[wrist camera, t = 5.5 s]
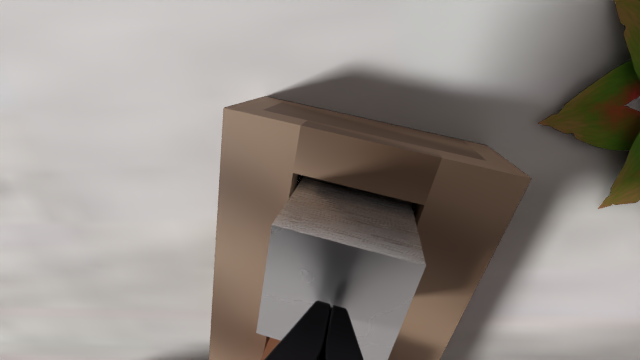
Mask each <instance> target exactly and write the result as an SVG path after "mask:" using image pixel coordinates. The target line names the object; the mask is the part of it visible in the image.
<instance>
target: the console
mask: <svg viewBox="0 0 640 360" xmlns="http://www.w3.org/2000/svg"><path fill="white" fill-rule="evenodd" d="M298 174H300V175H304V176H308V177H312V178H316V179H320V180H324V181H328V182H332V183H336V184H340V185H344V186H348V187H352V188H356V189H360V190H364V191H368V192H373V193H377V194H381V195H385V196H389V197H393V198H397V199H401V200H405V201H409V202H413V203H417V205H416V208H415V211H414V217H415V222H416V226H417V230H418V234H419V238H420V243H421V247H422V251H423V255H424V260H425V264H426V267H425V269H424V272H423V274H422V277H421V279H420V282H419V284H418V287H417V289H416V292H415V294H414V297H413V299H412V301H411V304H410V306H409V309H408V311H407V314H406V316H405V319H404V321H403V324H402V326H401V328H400V331H399V333H398V336H397V338H396V341H395V343H394V346H393V348H392V351H391V353H390V355H389V358H388V360H440V358H441V356H442V354H443V352H444V350H445V348H446V346H447V344H448V342H449V340H450V338H451V336H452V334H453V332H454V330H455V328H456V327H457V325H458V323H459V321H460V319H461V317H462V315H463V313H464V311H465V309H466V307H467V305H468V303H469V301H470V299H471V297H472V295H473V293H474V291H475V289H476V287H477V285H478V283H479V281H480V279H481V277H482V275H483V273H484V271H485V270H486V268H487V266H488V264H489V262H490V260H491V258H492V256H493V254H494V252H495V250H496V248H497V246H498V244H499V242H500V240H501V238H502V236H503V234H504V232H505V230H506V228H507V226H508V224H509V222H510V220H511V218H512V216H513V214H514V212H515V211H516V209H517V207H518V205H519V203H520V201H521V199H522V197H523V195H524V193H525V191H526V189H527V187H528V185H529V183H530V181H531V179H532V178H530V177H529V176H528V175H526V174H525V173H524V172H522V171H521V170H520V169H518V168H517V167H516V166H514V165H513V164H511V163H510V162H509V161H507V160H506V159H505V158H503V157H502V156H501V155H499V154H498V153H497V152H495V151H494V150H493V149H491V148H490V147H489V146H487V145H482V144H478V143H473V142H469V141H464V140H460V139H455V138H451V137H446V136H442V135H437V134H433V133H428V132H424V131H419V130H415V129H410V128H406V127H401V126H397V125H392V124H388V123H383V122H379V121H374V120H370V119H365V118H361V117H356V116H352V115H347V114H343V113H338V112H334V111H329V110H325V109H320V108H316V107H311V106H307V105H302V104H298V103H293V102H289V101H284V100H280V99H275V98H271V97H266V96H264V97H261V98H257V99H254V100H250V101H246V102H243V103H239V104H235V105H232V106H228V107H225V108H224V109H223V127H222V144H221V161H220V179H219V196H218V213H217V231H216V248H215V266H214V283H213V300H212V318H211V335H210V352H209V360H261V359H262V356H263V354H264V351H265V348H266V346H267V343H268V341H269V338H270V337H267V336H264V335H261V334H258V333H256V331H257V324H258V317H259V310H260V303H261V296H262V289H263V282H264V275H265V268H266V261H267V254H268V247H269V240H270V233H271V226H272V224H273V222H274V221H275V219H276V218H277V216H278V215H279V213H280V212H281V210H282V209H283V207H284V206H285V204H286V203H287V201H288V200H289V198H290V197H291V195H292V194H293V192H294V191H295V189H296V184H297V178H298Z"/></svg>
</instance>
